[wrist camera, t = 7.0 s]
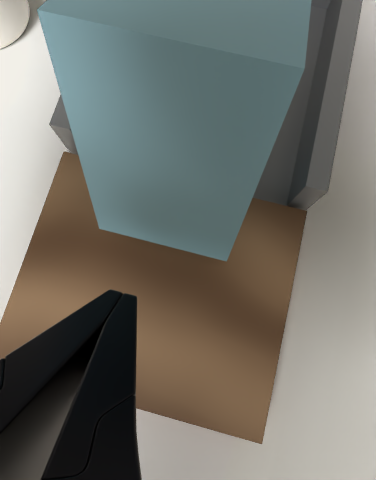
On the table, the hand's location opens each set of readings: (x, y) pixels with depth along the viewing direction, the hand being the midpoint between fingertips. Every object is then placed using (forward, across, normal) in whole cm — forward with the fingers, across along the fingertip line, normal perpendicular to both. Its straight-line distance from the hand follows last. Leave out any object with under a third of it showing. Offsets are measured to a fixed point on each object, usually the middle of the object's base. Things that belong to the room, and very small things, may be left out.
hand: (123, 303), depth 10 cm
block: (+8, 0, 0) cm, 8 cm away
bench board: (+6, 0, +4) cm, 8 cm away
